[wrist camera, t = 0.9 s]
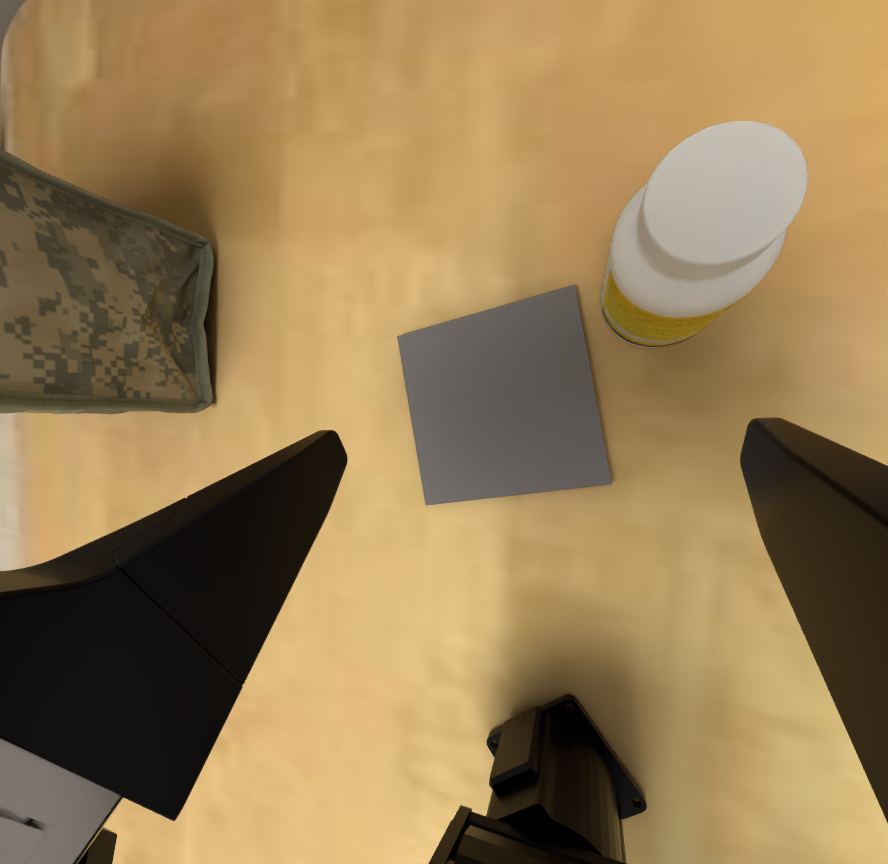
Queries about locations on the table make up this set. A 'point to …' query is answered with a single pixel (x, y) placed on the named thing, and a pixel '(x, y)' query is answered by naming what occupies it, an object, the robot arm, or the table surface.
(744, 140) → the supplement bottle
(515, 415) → the mat
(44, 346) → the bag
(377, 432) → the table surface
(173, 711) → the robot arm
